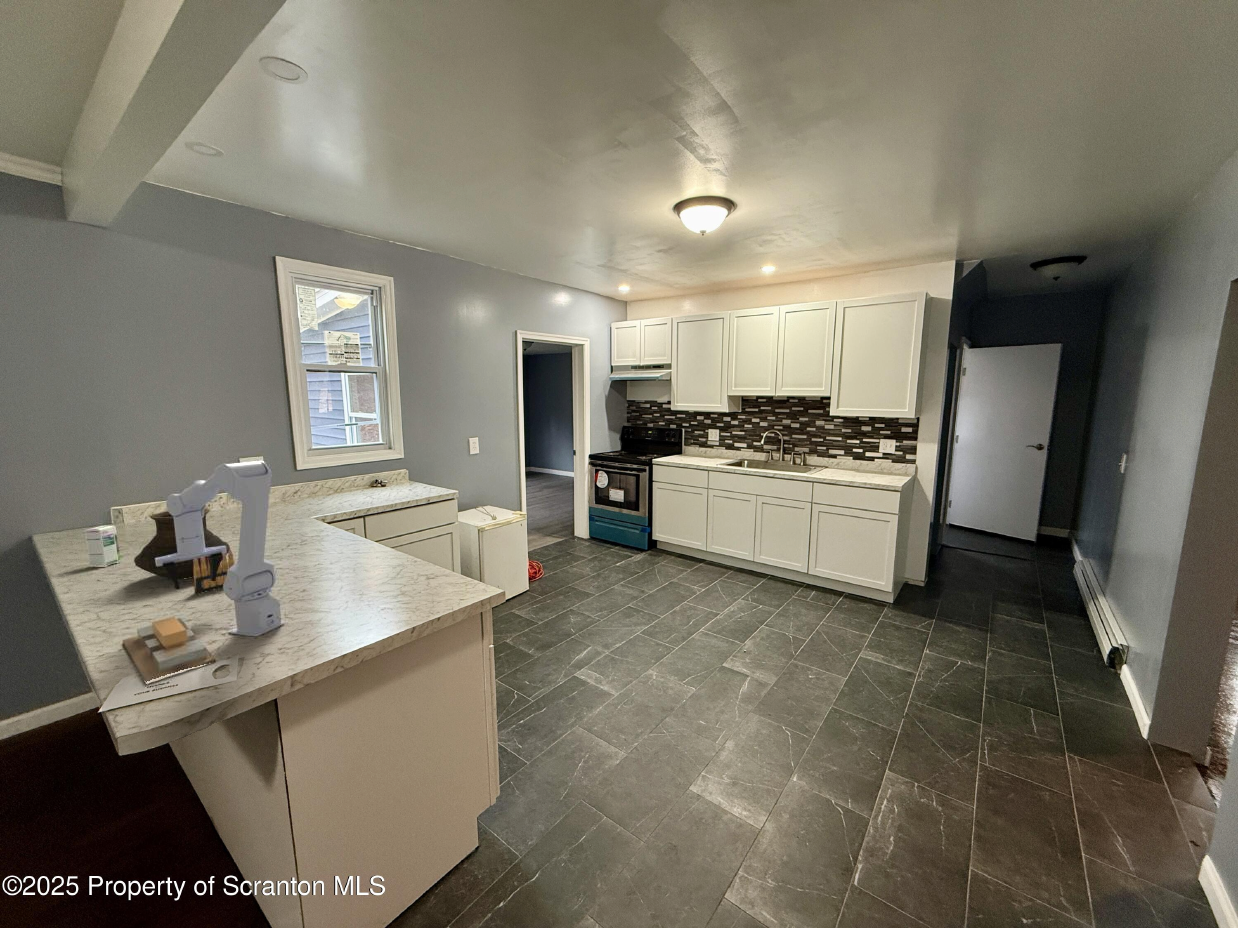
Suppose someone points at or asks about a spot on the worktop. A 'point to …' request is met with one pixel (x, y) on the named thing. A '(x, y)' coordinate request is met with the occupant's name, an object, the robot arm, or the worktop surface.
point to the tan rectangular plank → (169, 632)
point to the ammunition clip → (203, 577)
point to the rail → (171, 649)
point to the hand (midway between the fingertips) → (195, 584)
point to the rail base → (147, 663)
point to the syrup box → (102, 545)
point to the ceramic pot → (172, 547)
